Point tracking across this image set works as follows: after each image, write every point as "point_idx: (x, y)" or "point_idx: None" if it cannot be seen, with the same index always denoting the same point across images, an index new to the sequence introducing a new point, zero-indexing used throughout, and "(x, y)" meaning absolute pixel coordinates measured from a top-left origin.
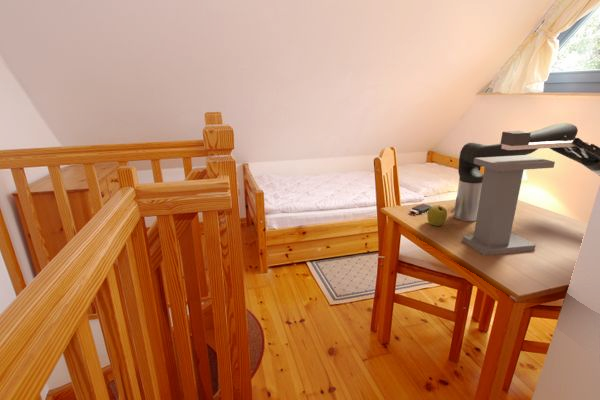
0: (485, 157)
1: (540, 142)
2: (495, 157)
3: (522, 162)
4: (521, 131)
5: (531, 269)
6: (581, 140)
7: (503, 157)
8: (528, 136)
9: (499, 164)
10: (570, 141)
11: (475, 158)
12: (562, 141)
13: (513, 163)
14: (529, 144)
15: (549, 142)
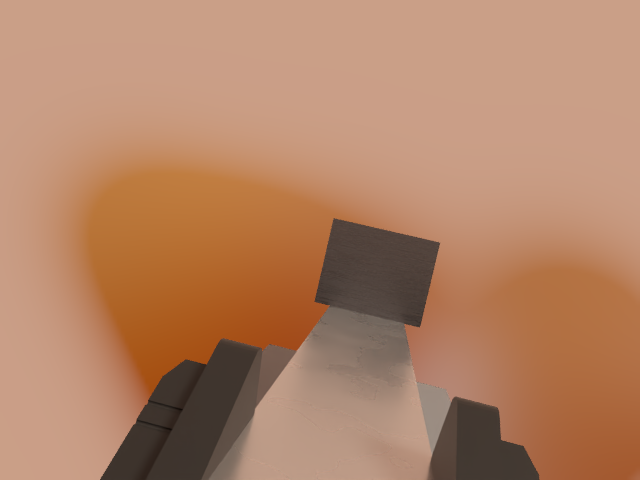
0: (447, 405)
1: (381, 349)
2: (437, 418)
3: (263, 386)
4: (406, 235)
5: None
6: (177, 423)
7: (427, 430)
8: (328, 243)
9: (277, 348)
10: (316, 447)
11: (435, 387)
12: (362, 418)
13: (265, 366)
14: (331, 310)
15: (355, 360)
